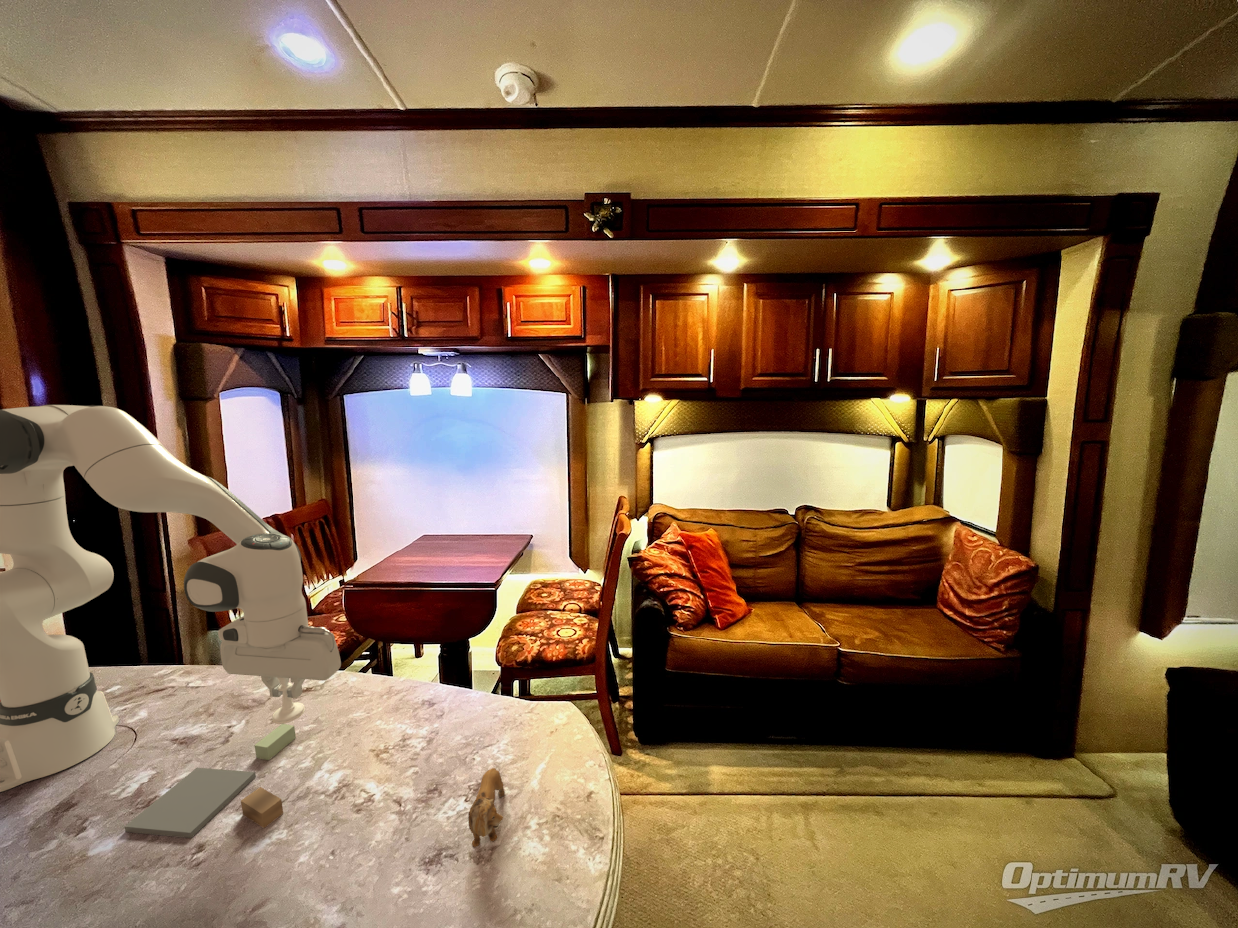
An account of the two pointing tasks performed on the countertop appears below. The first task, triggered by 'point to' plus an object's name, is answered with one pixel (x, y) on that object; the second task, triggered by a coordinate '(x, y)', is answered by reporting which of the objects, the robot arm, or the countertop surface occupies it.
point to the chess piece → (287, 705)
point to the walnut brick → (262, 807)
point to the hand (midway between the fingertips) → (286, 695)
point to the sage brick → (275, 741)
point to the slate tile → (191, 803)
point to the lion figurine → (486, 808)
